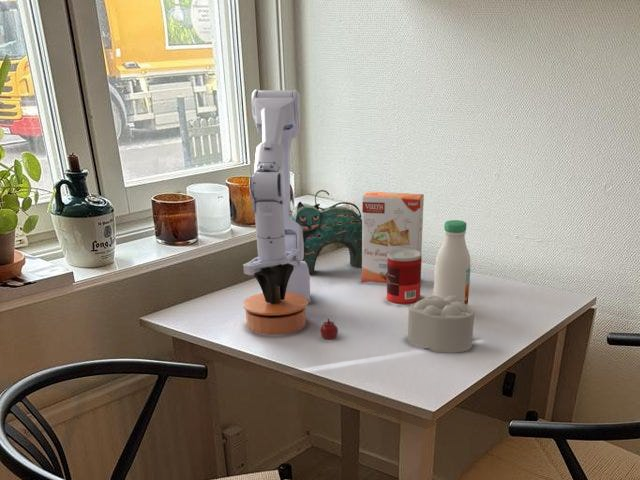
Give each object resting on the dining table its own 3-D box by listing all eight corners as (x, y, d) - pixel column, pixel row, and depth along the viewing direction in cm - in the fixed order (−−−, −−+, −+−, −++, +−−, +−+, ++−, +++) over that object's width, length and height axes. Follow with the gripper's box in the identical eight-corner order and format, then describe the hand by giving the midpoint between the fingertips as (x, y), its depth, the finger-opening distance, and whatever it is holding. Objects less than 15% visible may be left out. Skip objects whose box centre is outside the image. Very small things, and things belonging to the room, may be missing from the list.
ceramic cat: (299, 277, 187) (295, 194, 176) (290, 270, 192) (286, 189, 181) (369, 267, 194) (370, 187, 183) (359, 261, 199) (359, 182, 188)
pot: (296, 312, 165) (295, 295, 163) (313, 331, 155) (312, 313, 153) (241, 320, 161) (239, 302, 159) (255, 340, 151) (254, 321, 149)
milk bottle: (457, 322, 159) (464, 228, 149) (426, 316, 163) (430, 223, 152) (472, 312, 165) (480, 220, 154) (441, 306, 168) (447, 216, 157)
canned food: (424, 297, 173) (426, 250, 167) (412, 308, 167) (413, 260, 161) (394, 293, 176) (395, 247, 170) (381, 303, 170) (382, 256, 164)
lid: (296, 293, 163) (295, 272, 161) (316, 313, 153) (315, 291, 150) (237, 301, 159) (234, 279, 157) (252, 322, 148) (250, 299, 146)
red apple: (334, 334, 154) (333, 314, 151) (340, 341, 151) (339, 320, 148) (318, 337, 152) (317, 317, 150) (324, 344, 150) (323, 323, 147)
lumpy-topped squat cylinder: (429, 327, 157) (431, 287, 152) (482, 341, 150) (486, 300, 145) (401, 342, 150) (402, 301, 146) (455, 357, 143) (458, 315, 139)
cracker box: (361, 283, 182) (361, 195, 171) (366, 276, 187) (366, 190, 176) (417, 287, 180) (420, 198, 168) (420, 280, 184) (424, 192, 173)
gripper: (259, 246, 141) (264, 314, 148) (309, 231, 150) (311, 295, 158) (233, 240, 145) (240, 306, 152) (284, 225, 154) (288, 289, 161)
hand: (275, 300), depth 155 cm, fingers closed on lid, 2 cm apart
